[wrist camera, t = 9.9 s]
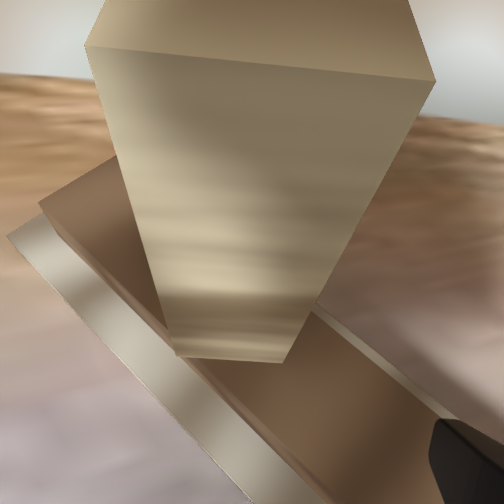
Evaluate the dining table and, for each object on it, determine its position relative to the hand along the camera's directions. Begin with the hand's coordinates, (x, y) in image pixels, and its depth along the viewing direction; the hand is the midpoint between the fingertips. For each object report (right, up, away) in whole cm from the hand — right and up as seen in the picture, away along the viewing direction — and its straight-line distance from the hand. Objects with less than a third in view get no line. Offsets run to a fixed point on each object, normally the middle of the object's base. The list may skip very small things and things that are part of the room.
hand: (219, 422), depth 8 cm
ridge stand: (+1, -3, +12) cm, 12 cm away
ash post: (0, +1, +9) cm, 9 cm away
